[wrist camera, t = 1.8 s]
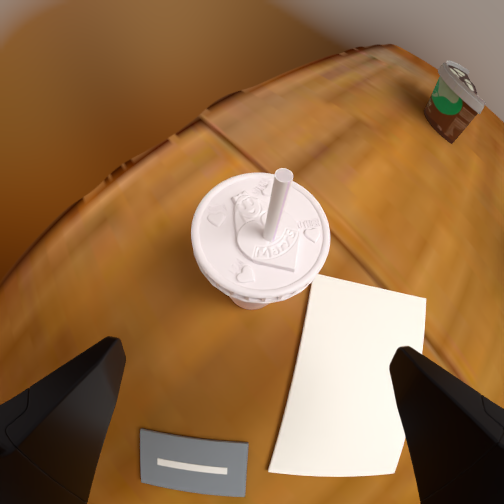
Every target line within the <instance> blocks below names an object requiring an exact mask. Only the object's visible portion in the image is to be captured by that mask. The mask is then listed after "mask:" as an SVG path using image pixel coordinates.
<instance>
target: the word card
mask: <svg viewBox="0 0 504 504" xmlns="http://www.w3.org/2000/svg"><path fill="white" fill-rule="evenodd" d="M247 458H248V442H233V441H220V440H210V439H201V438H193V437H186V436H179V435H173V434H167V433H162V432H157V431H152V430H147V429H143V428H142V429H140V465H141V482H142V483H146V484H151V485H155V486H160V487H164V488H169V489H175V490H180V491H187V492H193V493H201V494H209V495H220V496H234V497H245V488H246V473H247Z"/></svg>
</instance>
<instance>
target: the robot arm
mask: <svg viewBox="0 0 504 504" xmlns="http://www.w3.org/2000/svg"><path fill="white" fill-rule="evenodd" d="M125 363H126V356H125V353H124V349H123V346H122V342H121V340H120V339H119V338H117V337H111V336H108V337H106V338H104V339H103V340H101V341H99V342H98V343H96V344H95V345H93V346H92V347H90V348H89V349H87V350H86V351H84V352H83V353H81V354H79V355H78V356H76V357H75V358H73V359H72V360H70V361H69V362H67V363H66V364H64V365H63V366H61V367H60V368H58V369H57V370H55V371H54V372H52V373H50V374H49V375H47V376H46V377H44V378H43V379H41V380H40V381H38V382H37V383H35V384H34V385H32V386H31V387H30V389H29V388H28V389H26V390H25V391H23V392H22V393H20V394H18V395H17V396H15V397H14V398H12V399H10V400H9V401H7V402H5V403H3V404H1V405H0V504H87V502H88V498H89V494H90V489H91V485H92V481H93V478H94V474H95V470H96V466H97V463H98V459H99V456H100V452H101V449H102V446H103V442H104V439H105V436H106V433H107V429H108V426H109V423H110V420H111V417H112V414H113V411H114V408H115V405H116V402H117V398H118V393H119V389H120V384H121V380H122V376H123V372H124V367H125ZM389 371H390V376H391V380H392V385H393V390H394V395H395V400H396V405H397V409H398V412H399V416H400V419H401V423H402V426H403V430H404V433H405V437H406V441H407V444H408V448H409V452H410V456H411V460H412V464H413V469H414V473H415V478H416V482H417V487H418V492H419V497H420V501H421V502H420V504H504V409H503V408H501V407H500V406H498V405H496V404H495V403H493V402H492V401H490V400H489V399H487V398H486V397H484V396H483V395H481V394H480V393H479V392H477V391H476V390H474V389H473V388H471V387H470V386H468V385H467V384H465V383H464V382H462V381H461V380H459V379H458V378H456V377H455V376H453V375H452V374H450V373H449V372H448V371H446V370H445V369H443V368H442V367H440V366H439V365H437V364H436V363H434V362H433V361H431V360H430V359H428V358H427V357H425V356H424V355H422V354H421V353H419V352H418V351H416V350H415V349H413V348H412V347H410V346H401V347H399V348H398V349H397V350H396V352H395V354H394V356H393V358H392V360H391V362H390V366H389Z"/></svg>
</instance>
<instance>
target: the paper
mask: <svg viewBox="0 0 504 504" xmlns="http://www.w3.org/2000/svg"><path fill="white" fill-rule="evenodd" d="M425 313H426V299H425V298H421V297H416V296H412V295H407V294H403V293H398V292H394V291H390V290H385V289H381V288H376V287H372V286H367V285H363V284H359V283H354V282H350V281H346V280H341V279H337V278H332V277H328V276H324V275H319V274H317V276H316V277H315V279H314V280H313V281H312V282H311V288H310V294H309V299H308V305H307V310H306V316H305V321H304V326H303V331H302V336H301V341H300V346H299V351H298V355H297V360H296V365H295V369H294V374H293V378H292V382H291V386H290V391H289V395H288V399H287V403H286V407H285V411H284V415H283V419H282V422H281V426H280V430H279V433H278V437H277V441H276V444H275V448H274V451H273V455H272V458H271V461H270V465H269V468H268V472H273V473H282V474H292V475H305V476H332V477H342V476H369V475H382V474H392V473H394V472H395V469H396V466H397V463H398V460H399V457H400V454H401V451H402V448H403V444H404V441H405V433H404V430H403V426H402V423H401V419H400V416H399V412H398V409H397V405H396V400H395V395H394V390H393V385H392V380H391V376H390V371H389V366H390V362H391V360H392V358H393V356H394V354H395V352H396V350H397V349H398V348H399V347H401V346H410V347H412V348H413V349H415V350H416V351H418V352H419V353H421V354H422V349H423V340H424V328H425Z"/></svg>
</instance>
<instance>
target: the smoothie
mask: <svg viewBox="0 0 504 504" xmlns="http://www.w3.org/2000/svg"><path fill="white" fill-rule="evenodd" d="M292 180H293V174H292V172H291V171H290V170H288V169H285V168H281V169H278V170H277V171H276V172H275V175H274V174H269V173H247V174H242V175H238V176H235V177H232V178H229V179H227V180H225V181H223V182H221V183H220V184H218V185H217V186H215V187H214V188H213V189H212V190H210V191H209V192H208V193H207V194H206V196H205V197H204V198H203V199H202V201H201V202H200V204H199V205H198V207H197V209H196V212H195V214H194V217H193V221H192V227H191V240H192V246H193V251H194V256H195V259H196V261H197V263H198V266H199V268H200V270H201V272H202V273H203V274H204V275H205V277H206V278H207V279H208V280H209V282H210V283H211V284H212V285H213V286H215V287H216V288H217V289H219V290H220V291H222V292H223V293H225V294H226V295H227V296H229V297H230V298H231V299H232V300H233V302H234V303H235V304H237V305H238V306H240V307H242V308H244V309H249V310H255V309H260V308H262V307H264V306H266V305H268V304H269V303H272V302H278V301H283V300H286V299H288V298H290V297H292V296H294V295H296V294H298V293H300V292H301V291H303V290H304V289H305V288H306V287H307V286H308V285H309V284H310V283H311V282H312V281H313V280H314V279H315V277H316V276H317V274H318V272H319V271H320V269H321V268H322V266H323V264H324V263H325V260H326V258H327V255H328V251H329V247H330V229H329V224H328V221H327V218H326V215H325V213H324V211H323V209H322V207H321V206H320V204H319V203H318V201H317V200H316V199H315V198H314V197H313V196H312V194H311V193H309V192H308V191H307V190H306V189H305V188H303V187H302V186H301V185H299V184H297V183H296V182H294V181H292Z"/></svg>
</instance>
